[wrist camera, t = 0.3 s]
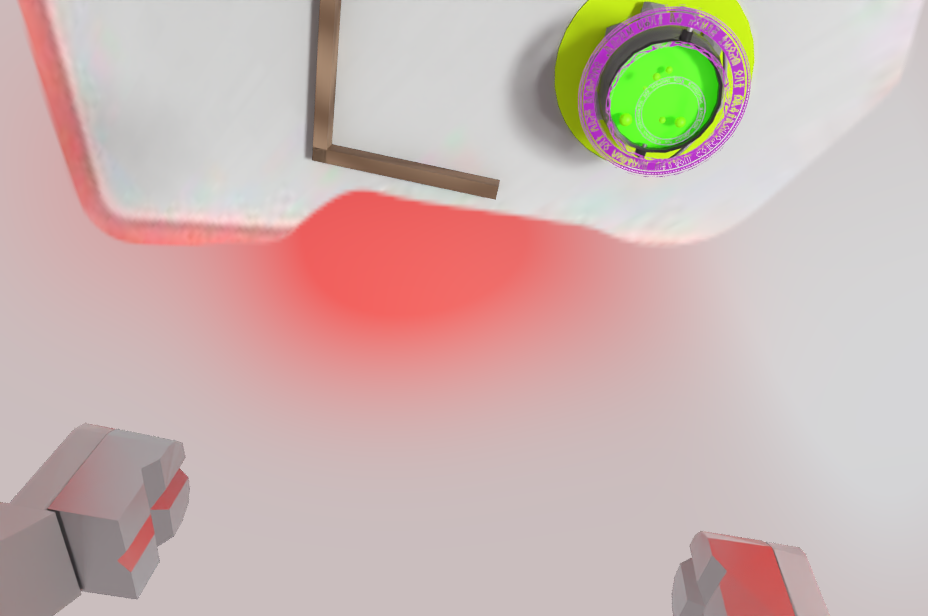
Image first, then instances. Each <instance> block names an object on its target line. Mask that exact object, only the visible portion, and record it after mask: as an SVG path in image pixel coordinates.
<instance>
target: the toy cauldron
mask: <svg viewBox="0 0 928 616" xmlns="http://www.w3.org/2000/svg"><path fill="white" fill-rule="evenodd" d="M753 66H754V44H753V38H752V34H751V30H750V26H749V22H748V20H747V18H746V16H745V14H744V12H743V10H742V8H741V7H740V5H739V3H738V2H737V1H736V0H588V1H587V2H586V3H585V4H584V5H583V6H582V8H581V9H580V10H579V11H578V12H577V14H576V15H575V17H574V18H573V20H572V22H571V23H570V25H569V26H568V28H567V30H566V32H565V34H564V37H563V39H562V42H561V45H560V47H559V50H558V55H557V60H556V65H555V91H556V96H557V101H558V106H559V108H560V111H561V113H562V116H563V118H564V121H565V123H566V124H567V126H568V127H569V129H570V130H571V132H572V133H573V135H574V136H575V137H576V138H577V139H578V140H579V141H580V142H581V143H582V144H583V145H584V146H585V147H586V148H587V149H588V150H590V151H592V152H593V153H595V154H596V155H598V156H599V157H601V158H603V159H606V160H608V161H609V162H610V161H611V163H612V162H613V163H612V164H614V163H616V164H618V166H617V165H616V166H617V167H619V165H620V166H622V167H623V168H622V169H624V167H625V166H629V167H633V168H637V169H642V170H648V171H649V170H663V167H662V166H664V165H665V166H666V167H664V169H665V170H667V169H672V168H676V167H677V166H676V165H677V164H678V162H679V167H680V166H683V165H685V164H688V161H689V163H690V160H691V162H692V161H695V160H696V159H698V158H700V157H702V156H703V155H705V154H706V153H707V152H709V151H710V150H711V149H713V148H714V147H715V146H716V145H717V144H718V143H719V142H720V141H721V140H722V139H723V138H724V136H725V135H726V134H727V133H728V131H729V130H730V128H731V127H732V125H733V124H734V122H735V120H736V118H737V116H738V113H739V111H740V109H741V106H742V103H743V102H744V105H743V107H742V110H741V113H740V115H739V117H738V119H737V121H736V123H735V125H734V127H733V128H732V130H731V131H730V132H729V134H728V135H727V136H726V138H728V136H729V135H730V133H732V131H733V129H734V128H735V126H736V124H737V123H738V121H739V120H740V121H741V119H742V117H743V115H744V112H745V110H746V107H747V103H748V100H746V98H748V99H749V95H748V94H747V93H748V92H749V94H750V87H749V86H750V85H751V79H752V72H753ZM748 89H749V91H748ZM747 95H748V97H747ZM746 101H747V103H746ZM745 104H746V107H745ZM744 107H745V110H744V112H743V109H744ZM738 110H739V111H738ZM742 112H743V115H742ZM741 115H742V117H741ZM735 116H736V118H734V117H735ZM739 118H741V119H739ZM732 120H734V122H732V123H730V122H731V121H732ZM740 121H739V123H740ZM739 123H738V125H739ZM738 125H737V126H738ZM737 126H736V128H737ZM728 127H729V129H728ZM736 128H735V129H736ZM725 129H726V130H725ZM725 131H726V132H725ZM734 131H735V130H734ZM734 131H733V132H734ZM722 132H723V133H724V134H723V133H722ZM720 134H721V135H723V136H721V135H720ZM732 134H733V133H732ZM732 134H731V135H732ZM731 135H730V136H731ZM719 136H720V137H721V140H716V138H717V139H720V137H719ZM733 136H734V135H733ZM726 138H725V139H724V140H726ZM729 138H730V137H729ZM729 138H728V139H729ZM714 139H715V141H714ZM728 139H727V140H728ZM724 140H723V141H722V142H721V143H720V144H719V145H718V146H717V147H716V148H717V150H718V149H719V148H720V147H721V146H722V145H723V144H724V143H725V142H726V141H727V140H726V141H725V142H724ZM712 141H714V142H713V144H716V143H717V142H718V143H717V144H716V145H713V144H711V143H712ZM723 142H724V143H723ZM722 143H723V144H722ZM708 144H709V145H710V144H711V145H710V147H713V148H710V147H709V146H708ZM721 144H722V145H721ZM720 145H721V146H720ZM707 146H708V147H709V148H710V150H709V148H708V147H707ZM719 146H720V147H719ZM706 147H707V148H706ZM718 147H719V148H718ZM716 148H715V149H713V150H712V151H711V152H710V153H708V154H707V155H706V156H708V157H709V154H711V153H712V152H713V151H714V150H715V152H716V151H717V150H716ZM702 149H703V151H702ZM705 149H706V150H705ZM699 151H700V153H698V154H697V152H699ZM705 151H706V153H703V152H705ZM715 152H714V153H715ZM717 153H718V152H717ZM696 154H697V156H696ZM712 154H713V153H712ZM712 154H711V155H712ZM701 155H702V156H701ZM711 155H710V156H711ZM698 156H700V157H698ZM706 156H704V157H703V158H701V159H699V160H697V161H695V162H694V163H696V162H698V163H700V162H702V161H703V160H702V159H704V158H705V159H707V158H708V157H707V158H706ZM689 157H690V159H689ZM712 157H713V156H712ZM687 158H688V160H687ZM684 159H685V160H684ZM705 159H704V160H705ZM681 160H682V161H681ZM701 160H702V161H701ZM708 160H709V159H708ZM676 161H677V162H676ZM680 161H681V162H680ZM683 161H684V163H683ZM685 161H686V163H685ZM699 161H700V162H699ZM674 162H675V163H676V165H675V163H674ZM705 162H706V161H705ZM680 163H681V164H680ZM694 163H691V164H689V165H687V166H684V167H681V168H678V169H674V170H669V171H662V172H647V171H639V170H635V169H631V168H628V167H625V169H624V170H626V168H627V169H628V170H627V171H629V169H630V172H633V171H635V172H634V173H637V172H636V171H638V174H642V173H639V172H643V174H644V173H646V174H645V175H663V173H664V174H669V173H670V172H671V173H675V172H678V170H679V171H682V170H681V169H683V168H685V169H687V168H686V167H688V168H690V167H692V166H691V165H692V164H693V166H694ZM698 163H697V164H698ZM703 163H704V162H703ZM670 164H671V165H670ZM682 164H683V165H682ZM614 165H615V164H614ZM623 165H625V166H623ZM695 165H696V164H695ZM671 166H672V167H671ZM689 166H690V167H689ZM660 167H661V169H660ZM669 167H671V168H669ZM696 167H697V166H696ZM615 168H616V167H615ZM620 168H621V167H620ZM694 168H695V167H694ZM685 169H683V170H685ZM692 169H693V168H692ZM631 170H633V171H631ZM675 170H677V171H675ZM689 170H690V169H689ZM673 171H675V172H673ZM666 172H667V173H666ZM668 172H669V173H668ZM684 172H685V171H684ZM647 173H651V174H647ZM652 173H654V174H652ZM655 173H656V174H655ZM657 173H659V174H657ZM660 173H662V174H660ZM681 173H682V172H681ZM629 174H631V173H629ZM677 174H679V173H677ZM673 175H675V174H673ZM639 176H640V175H639ZM668 176H669V175H668ZM644 177H649V176H644ZM657 177H663V176H657Z"/></svg>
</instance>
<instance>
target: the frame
mask: <svg viewBox="0 0 928 616" xmlns="http://www.w3.org/2000/svg"><path fill="white" fill-rule="evenodd" d="M340 10H341V0H320V11H319V31H318V52H317V72H316V93H315V113H314V133H313V154H312V160H314V161H318V162H323V163H328V164H332V165H337V166H342V167H346V168H351V169H356V170H360V171H365V172H370V173H374V174H379V175H384V176H388V177H393V178H398V179H402V180H407V181H412V182H416V183H421V184H426V185H430V186H435V187H440V188H444V189H449V190H454V191H458V192H463V193H468V194H472V195H477V196H481V197H486V198H491V199H495V200H496V195H497V191H498V186H499V182H500V180H496V179H491V178H487V177H482V176H477V175H473V174H468V173H463V172H459V171H454V170H449V169H445V168H440V167H435V166H431V165H426V164H421V163H417V162H412V161H407V160H403V159H398V158H393V157H389V156H384V155H379V154H375V153H370V152H365V151H361V150H356V149H351V148H347V147H342V146H337V145H332V133H333V118H334V102H335V87H336V72H337V56H338V41H339V25H340Z"/></svg>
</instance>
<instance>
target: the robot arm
mask: <svg viewBox="0 0 928 616" xmlns="http://www.w3.org/2000/svg"><path fill="white" fill-rule="evenodd" d="M184 459H185V454H184V448H183V443H181V442H178V441H175V440H169V439H165V438H159V437H155V436H150V435H145V434H140V433H135V432H129V431H125V430H120V429H113V428H108V427H103V426H98V425H92V424H87V423H85V424H82V425H81V426H79V427H77V428H75V429H74V430H73V431H72V432H71V433H70V434H69V435H68V436H67V438H66V439H65V440H64V441H63V442H62V443H61V444H60V446H59V447H58V448H57V449H56V450H55V451H54V453H53V454H52V455H51V456H50V457H49V458H48V459H47V460H46V462H45V463H44V464H43V465H42V466H41V467H40V468H39V470H38V471H37V472H36V473H35V474H34V475H33V477H32V478H31V479H30V480H29V481H28V482H27V483H26V484H25V486H24V487H23V488H22V489H21V490H20V491H19V493H18V494H17V495H16V496H15V497H14V498H13V499H12V500H11V502H10V503H3V502H0V616H53V615H55V614H56V613H57V612H59V611H60V610H61V609H63V608H64V607H65V606H67V605H68V604H69V603H71V602H72V601H73V600H75V599H76V598H77V597H79V596H80V595H81V591H85V592H92V593H97V594H104V595H111V596H118V597H125V598H131V599H138V598H139V596H140V594H141V593H142V591H143V589H144V587H145V585H146V584H147V582H148V580H149V579H150V577H151V575H152V574H153V572H154V570H155V568H156V567H157V565H158V563H159V561H160V560H159V555H158V549H157V547H158V546H159V545H161V544H162V543H164V542H166V541H167V540H169V539H170V538H172V537H174V535H175V533H176V531H177V529H178V528H179V526H180V524H181V522H182V521H183V517H184V514H185V511H186V508H187V505H188V502H189V490H190V487H189V480H188V477H187V476H186V475H185V474H184V472H183V471H182V470H181V469H180V468H179V467H180V466H181V464H182V463H183V461H184ZM690 550H691V555H692V558H690V559H688V560H686V561H684V562H682V563H681V564H680V566H679V568H678V570H677V573H676V575H675V577H674V583H673V590H672V611H673V616H830V614H829V612H828V609H827V607H826V604H825V602H824V599H823V597H822V594H821V592H820V589H819V587H818V584H817V581H816V579H815V576H814V574H813V571H812V569H811V566H810V564H809V561H808V559H807V556H806V554H805V553H804V552H803V551H802V549H800V548H799V547H793V546H788V545H782V544H776V543H770V542H763V541H761V540H755V539H749V538H742V537H735V536H730V535H723V534H717V533H711V532H705V531H700V532H699V533H697V534H696V535H695V536H694V538H693V540H692V542H691V544H690Z"/></svg>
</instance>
